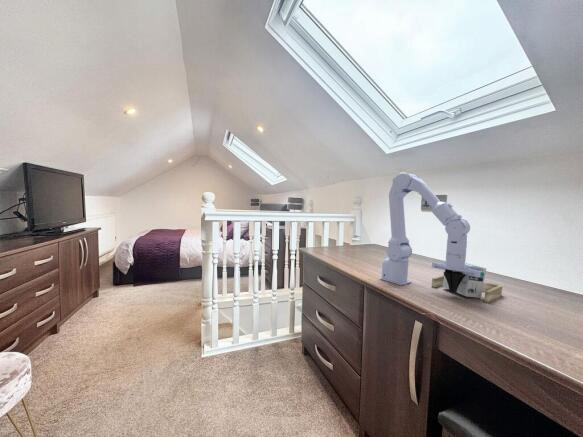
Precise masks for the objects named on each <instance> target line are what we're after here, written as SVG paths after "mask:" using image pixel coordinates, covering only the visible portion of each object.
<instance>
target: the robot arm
mask: <svg viewBox="0 0 583 437" xmlns="http://www.w3.org/2000/svg"><path fill="white" fill-rule="evenodd" d="M411 192H416V193H418V194H419V195H420V196H421V197H422V198H423V199H424V201H426V203H428V204H429V205H430V206H431V208H432V210H431V213H432V214H433V215H434V216H435V217H436V218H437V220H438V221H439V222H440V223H441V225H443V226H444V230H445V232H446V234H447V239H446V240H447V241H446V251H445V254H446V255H445V263H444V262H443V263H442V262H436V261H433V262H431V268H432V269H440V270H443V275H444V276H445V278H446V280H447V282H448V286H449V289H448V291H449V293H451V294H457V289H458V286H459V284H460V282H461V281H462V279H463V278H464V277H465V274H466V275H471V276H474V277H480V274H481V271H478V270H474V269H470V268H466V267H465V263H466V257H467V256H466V255H467V247H468V246H467V245H468V234H469V232H471V231H470V230H471V225H470V224H469V222H468V220H466V219H464V218H463V216H462V215H461V214H459V213H457V212H456V211H455V210H454V209H453V204H452V203H448V202H446V201H441V200H440V199H439V198H438V197H437V195H436V194H435V193H434V192H433V190H432V189H431V188H430V187H429V186H428V185H427V184H426V182H425V181H424V180H423V179H421V177H420V176H419V175H417V174H415V173H414V174H413V173H408V172H406V171H401V172H399V173H397V174H396V175H395V176H394V177H393V179H392V184H391V186H390V190H389V193H388V203H389V204H388V206H389V218H390V219H389V220H390V232H391V233H390V234H391V237H390V239H389V240H388V242H387V243H388V246H387V249H386V256H387V257H386V258H385V259H383V261H382V266H381V278H380V280H383V281H385V282H389V283H392V284H395V285H399V286H404V285H408V284H411V283H412V280H410V279H408V274H409V260H410V259H409V258H410V257H411V256H412V255H413V249H412V247H411V245H410V239H409V238H408V237H407V232H406V218H405V206H404V198H405V197H406V196H407V195H408V194H409V193H411Z"/></svg>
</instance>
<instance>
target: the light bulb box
mask: <svg viewBox="0 0 583 437" xmlns="http://www.w3.org/2000/svg"><path fill="white" fill-rule="evenodd" d="M465 267H466V268H470V269H474V270H478V271H481V274H480V277H474V276H471V275H466V274H465V277H464V278H463V279H462V281H461V282H460V284H459V286H458V289H457V292H456V294H460V295H461V296H464V297H469V298H477V299H482V295H483V294H482V293H483V291H482V289H483V284H484V282H485V277H486V272H487V268H485V267H483V266H480V265H479V266H478V265H476V264H475V265H474V264H471V263H468V262H467V263H466V262H465ZM441 287H442V288H445V289H448V290H449V286H448V282H447V280H446V278H445V276H444V280H443V285H442V286H441Z"/></svg>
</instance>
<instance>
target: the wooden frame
mask: <svg viewBox="0 0 583 437" xmlns="http://www.w3.org/2000/svg"><path fill="white" fill-rule="evenodd" d="M443 280H444V274H443V275H439V276H435V277H432V279H431V288H433V289H435V288H438V287H442V285H443ZM483 292H484V303H487V304H490V302H493V301H494V300H497V299H498V298H500V297H502V295H503V285H499V284H495V283H492V282H486V281H484V284H483V289H482V293H483Z"/></svg>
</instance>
